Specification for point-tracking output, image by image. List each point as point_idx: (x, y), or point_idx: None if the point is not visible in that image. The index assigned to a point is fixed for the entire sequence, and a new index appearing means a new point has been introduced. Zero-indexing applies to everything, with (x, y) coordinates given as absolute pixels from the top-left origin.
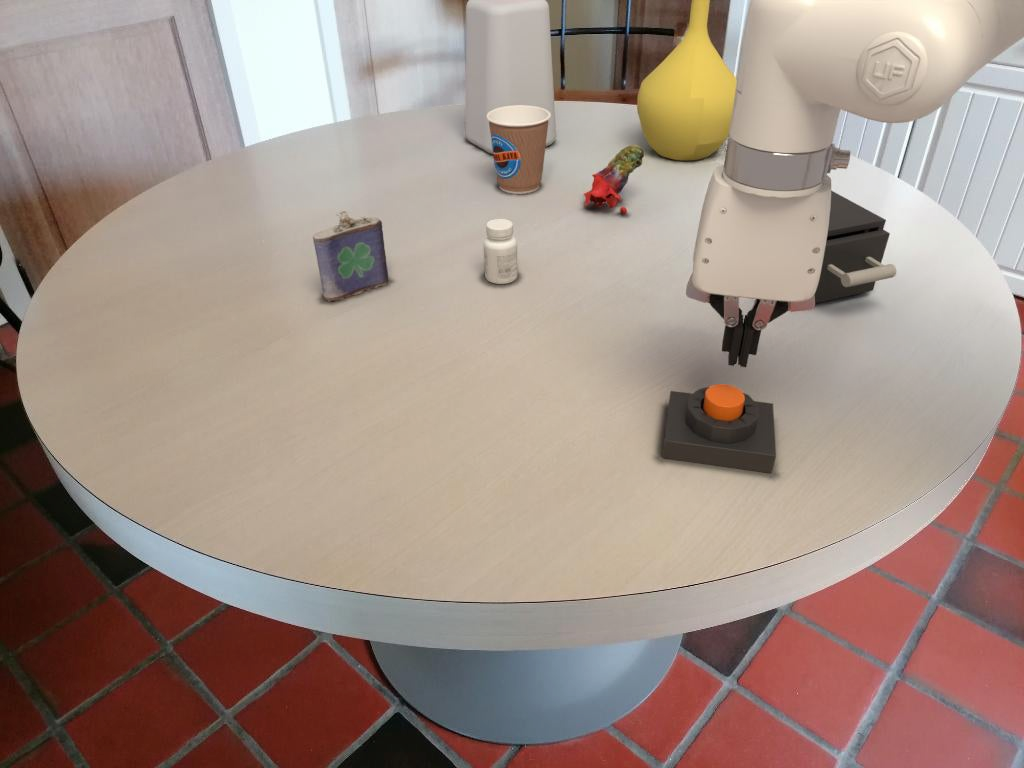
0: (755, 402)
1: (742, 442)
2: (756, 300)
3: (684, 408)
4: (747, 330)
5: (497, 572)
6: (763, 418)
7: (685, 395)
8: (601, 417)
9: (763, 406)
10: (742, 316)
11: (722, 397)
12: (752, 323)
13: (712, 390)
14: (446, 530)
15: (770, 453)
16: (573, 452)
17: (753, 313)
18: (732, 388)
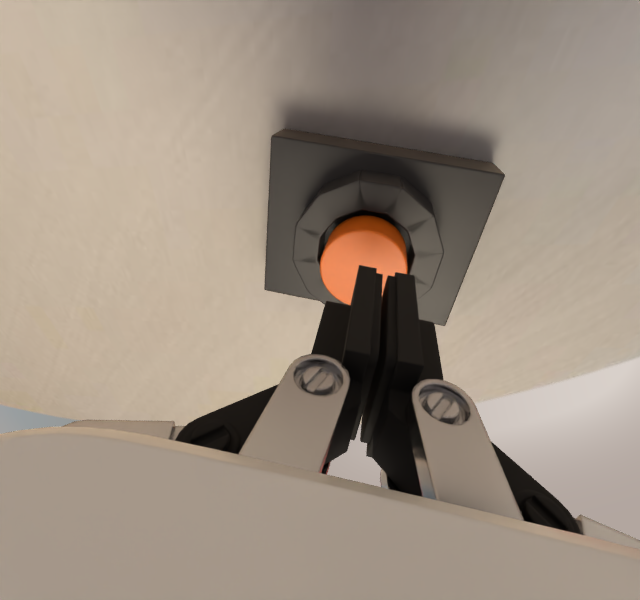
0: (462, 174)
1: None
2: (416, 467)
3: (299, 202)
4: (367, 448)
5: (134, 409)
6: (460, 230)
7: (303, 153)
8: (163, 169)
9: (476, 188)
10: (370, 377)
11: (354, 280)
12: (381, 471)
13: (336, 256)
14: (67, 368)
15: (437, 321)
16: (146, 259)
17: (395, 454)
18: (384, 248)
